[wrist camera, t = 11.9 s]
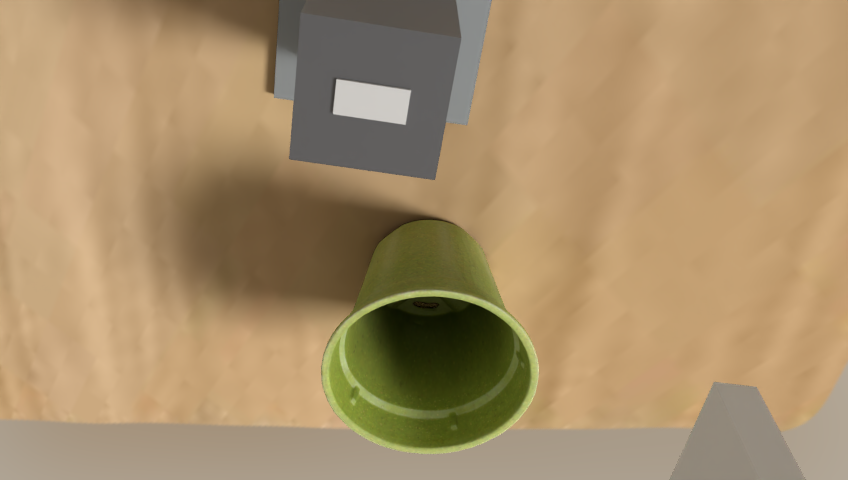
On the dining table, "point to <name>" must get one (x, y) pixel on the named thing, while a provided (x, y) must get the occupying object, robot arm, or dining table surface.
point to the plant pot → (429, 347)
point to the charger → (374, 84)
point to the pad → (473, 27)
